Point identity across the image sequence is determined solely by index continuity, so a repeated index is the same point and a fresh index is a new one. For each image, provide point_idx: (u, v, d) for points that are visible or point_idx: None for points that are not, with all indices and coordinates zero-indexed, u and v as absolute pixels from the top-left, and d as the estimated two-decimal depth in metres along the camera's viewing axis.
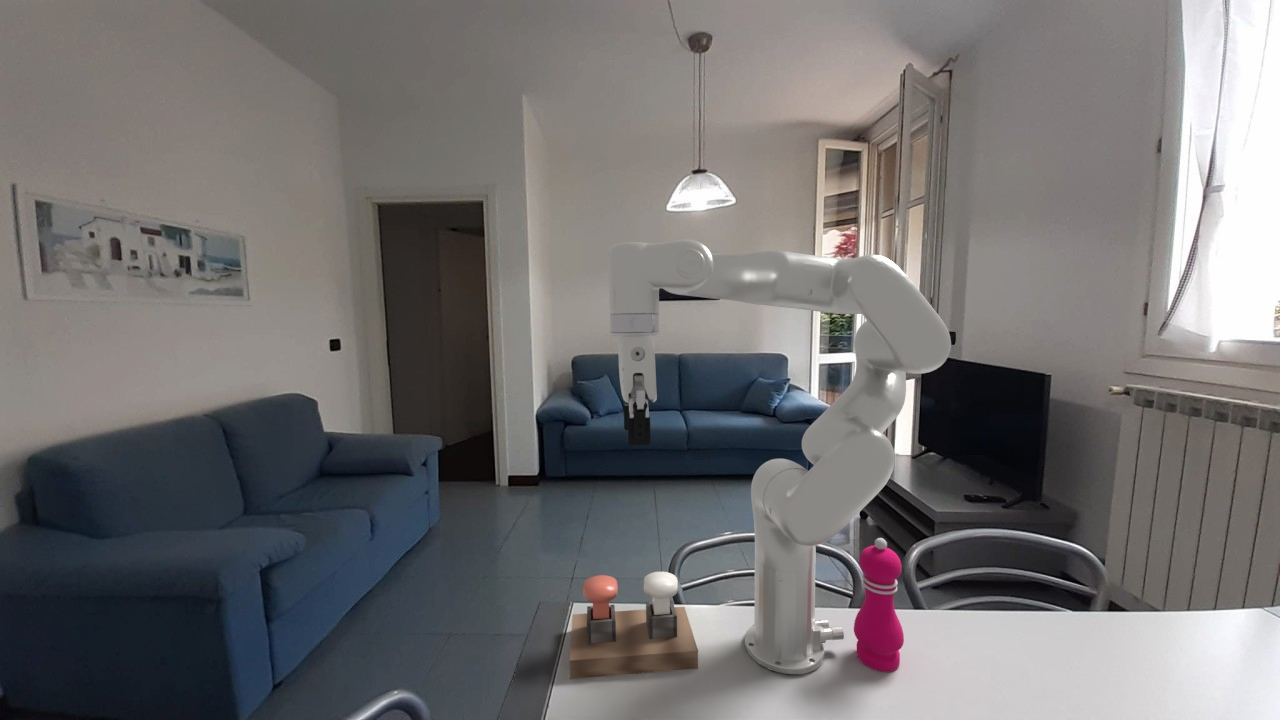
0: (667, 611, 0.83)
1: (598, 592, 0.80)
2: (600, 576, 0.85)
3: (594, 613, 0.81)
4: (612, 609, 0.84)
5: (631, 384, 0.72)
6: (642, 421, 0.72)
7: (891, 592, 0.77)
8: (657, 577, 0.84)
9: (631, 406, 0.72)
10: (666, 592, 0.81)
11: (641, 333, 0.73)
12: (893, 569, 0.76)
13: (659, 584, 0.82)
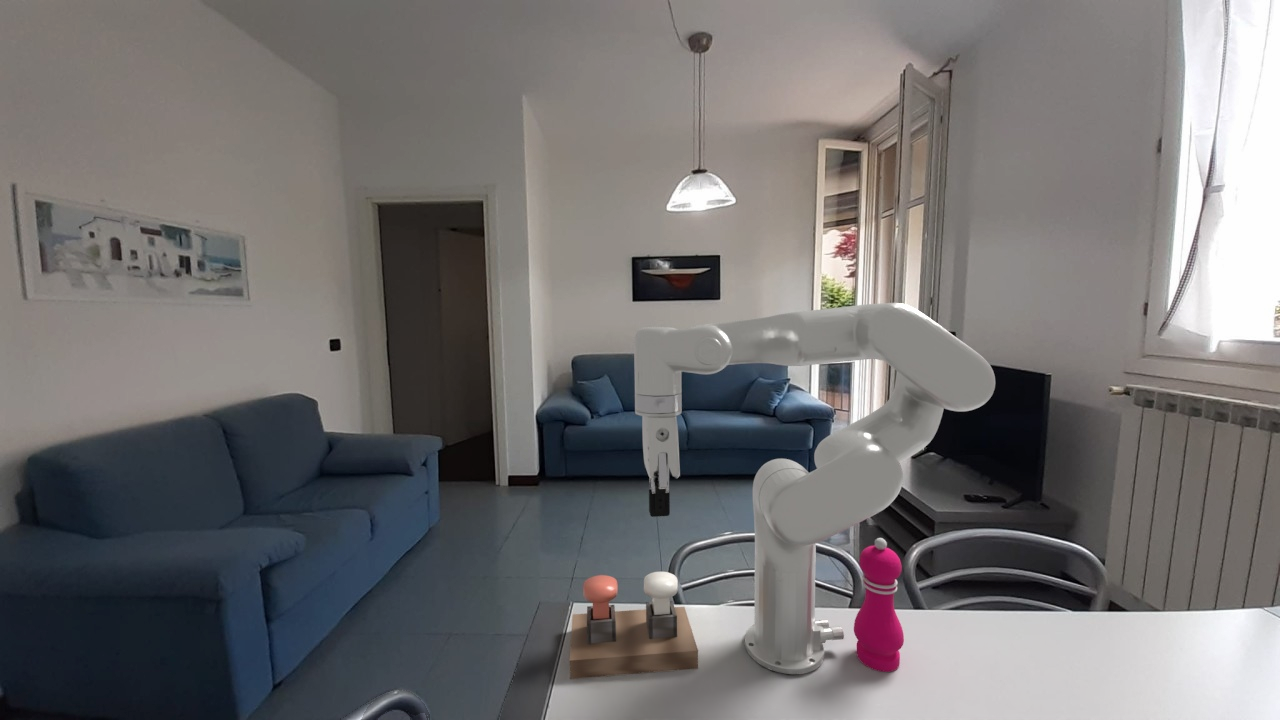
0: (667, 611, 0.83)
1: (598, 592, 0.80)
2: (600, 576, 0.85)
3: (594, 613, 0.81)
4: (612, 609, 0.84)
5: (656, 463, 0.76)
6: (662, 496, 0.81)
7: (891, 592, 0.77)
8: (657, 577, 0.84)
9: (653, 486, 0.80)
10: (666, 592, 0.81)
11: (665, 414, 0.77)
12: (893, 569, 0.76)
13: (659, 584, 0.82)
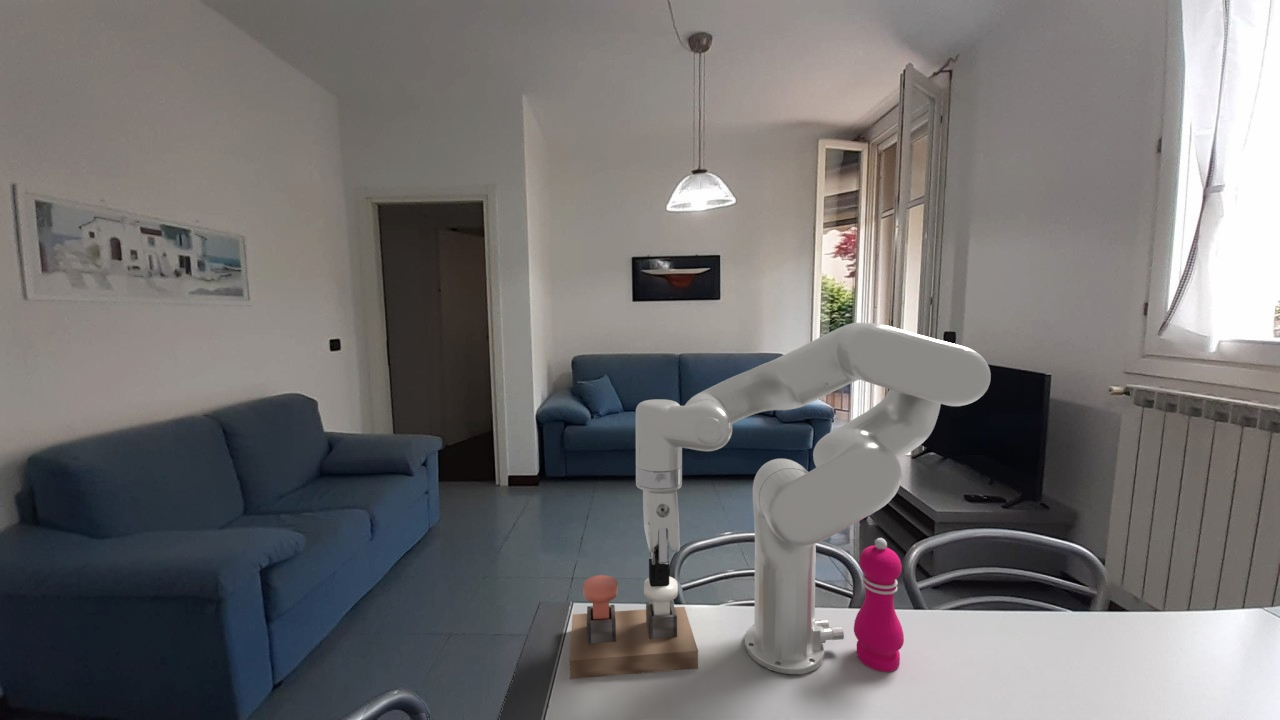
0: None
1: (598, 592, 0.80)
2: (600, 576, 0.85)
3: (594, 613, 0.81)
4: (612, 609, 0.84)
5: (656, 538, 0.77)
6: (662, 567, 0.82)
7: (891, 592, 0.77)
8: None
9: (653, 557, 0.81)
10: (666, 596, 0.81)
11: (666, 489, 0.78)
12: (893, 569, 0.76)
13: (659, 588, 0.82)
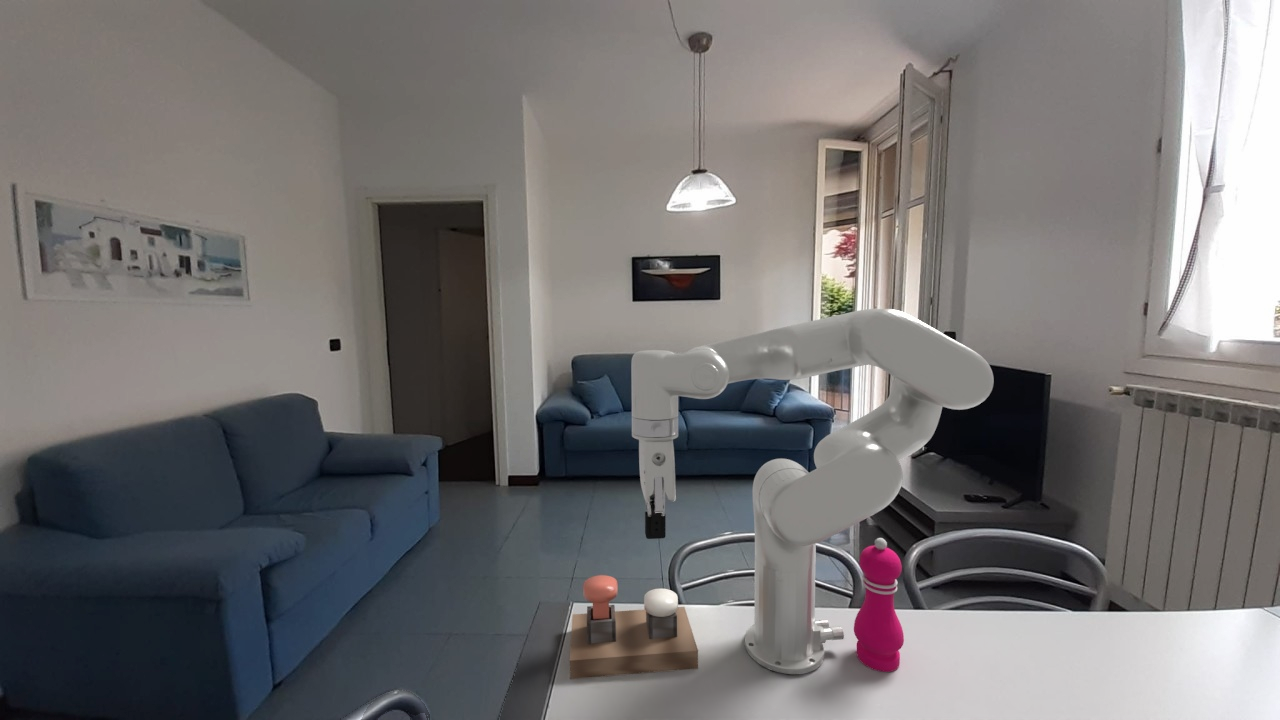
0: None
1: (598, 592, 0.80)
2: (600, 576, 0.85)
3: (594, 613, 0.81)
4: (612, 609, 0.84)
5: (652, 487, 0.77)
6: (658, 518, 0.81)
7: (891, 592, 0.77)
8: (658, 594, 0.85)
9: (649, 508, 0.80)
10: (666, 610, 0.81)
11: (662, 438, 0.78)
12: (893, 569, 0.76)
13: (659, 602, 0.82)
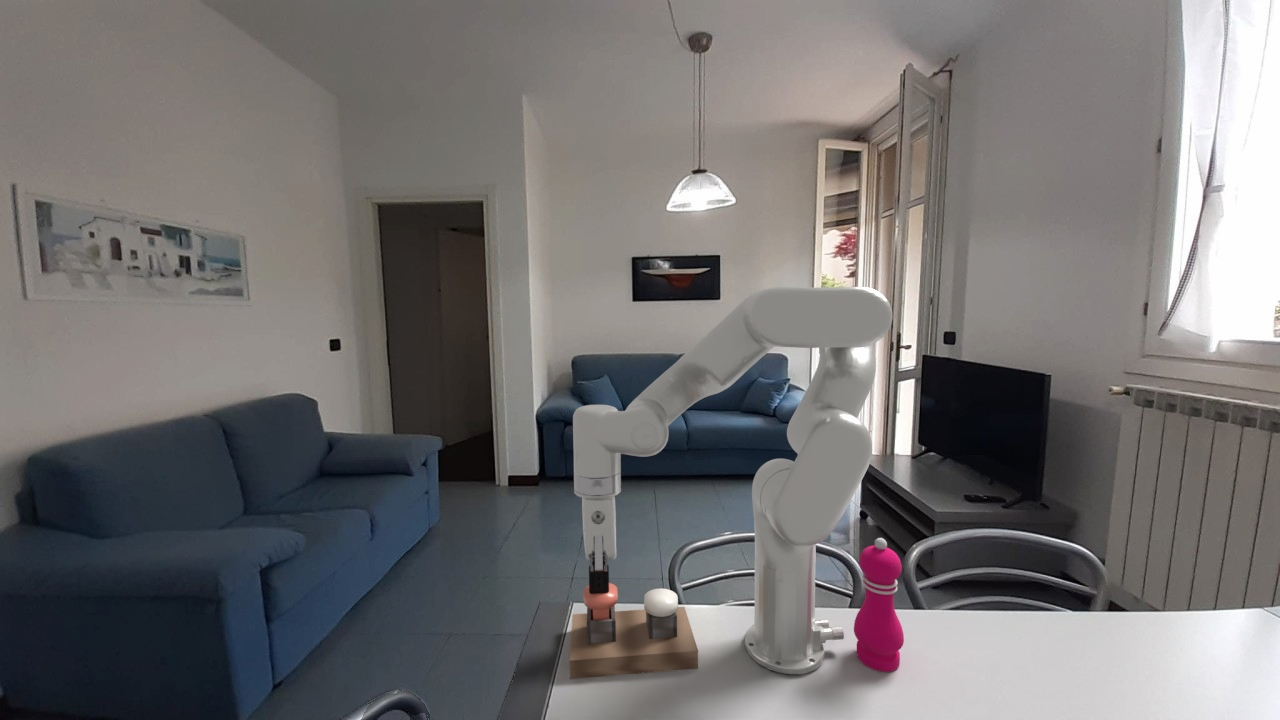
0: None
1: (598, 599, 0.80)
2: None
3: None
4: (612, 609, 0.84)
5: (591, 545, 0.77)
6: (601, 574, 0.81)
7: (891, 592, 0.77)
8: (658, 594, 0.85)
9: (591, 564, 0.80)
10: (666, 610, 0.81)
11: (602, 496, 0.77)
12: (893, 569, 0.76)
13: (659, 602, 0.82)
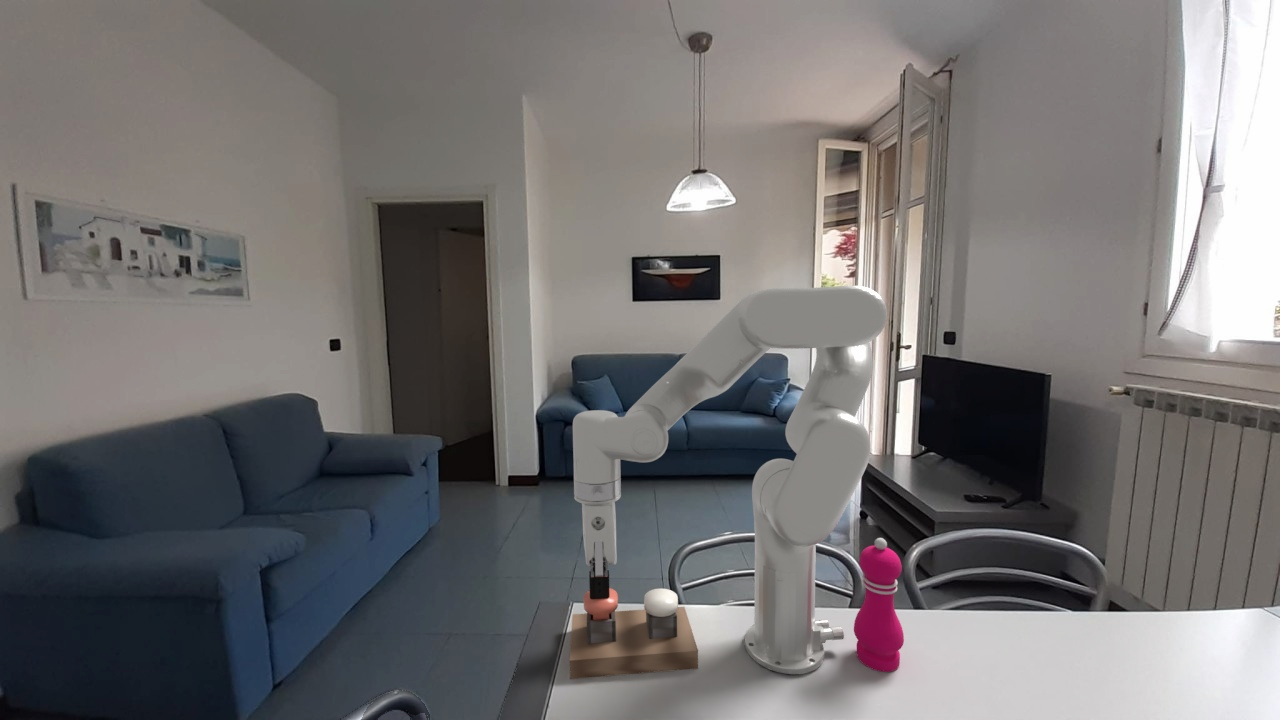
0: None
1: (598, 605, 0.80)
2: None
3: None
4: None
5: (592, 551, 0.77)
6: (601, 579, 0.81)
7: (891, 592, 0.77)
8: (658, 594, 0.85)
9: (592, 570, 0.80)
10: (666, 610, 0.81)
11: (602, 502, 0.78)
12: (893, 569, 0.76)
13: (659, 602, 0.82)
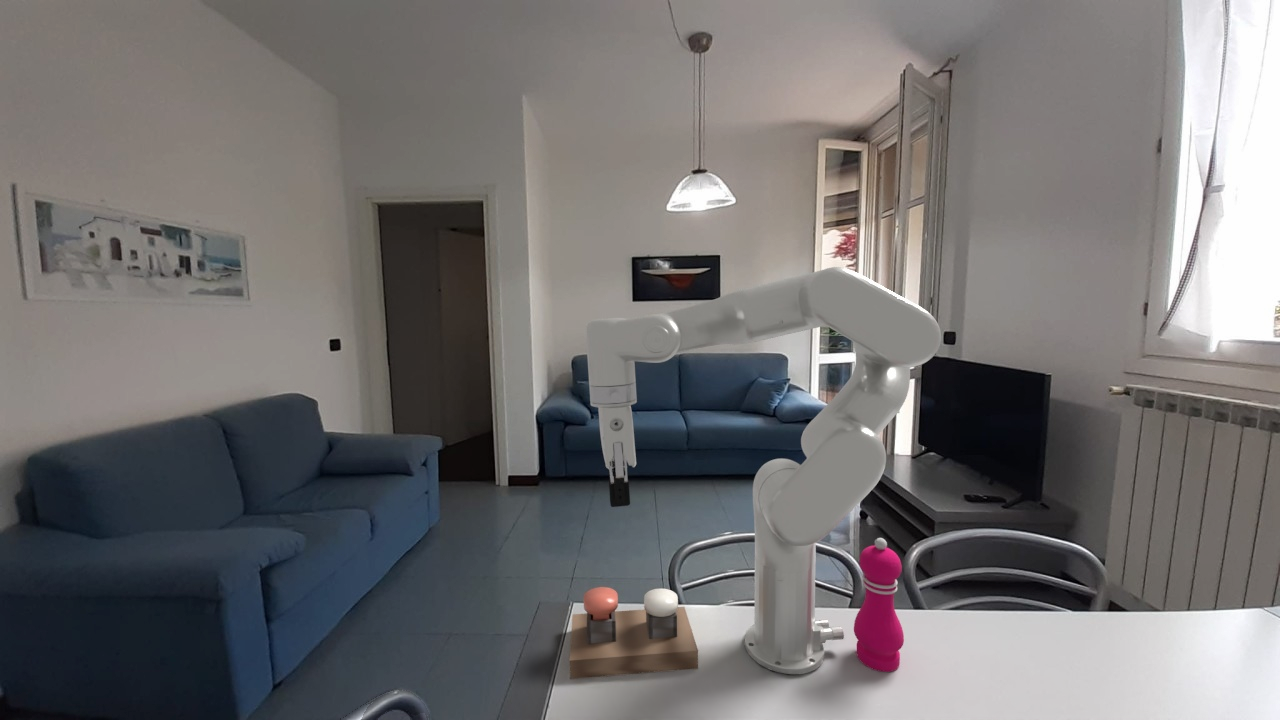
0: None
1: (598, 605, 0.80)
2: (600, 588, 0.85)
3: None
4: None
5: (611, 453, 0.77)
6: (622, 485, 0.81)
7: (891, 592, 0.77)
8: (658, 594, 0.85)
9: (612, 476, 0.80)
10: (666, 610, 0.81)
11: (619, 404, 0.78)
12: (893, 569, 0.76)
13: (659, 602, 0.82)
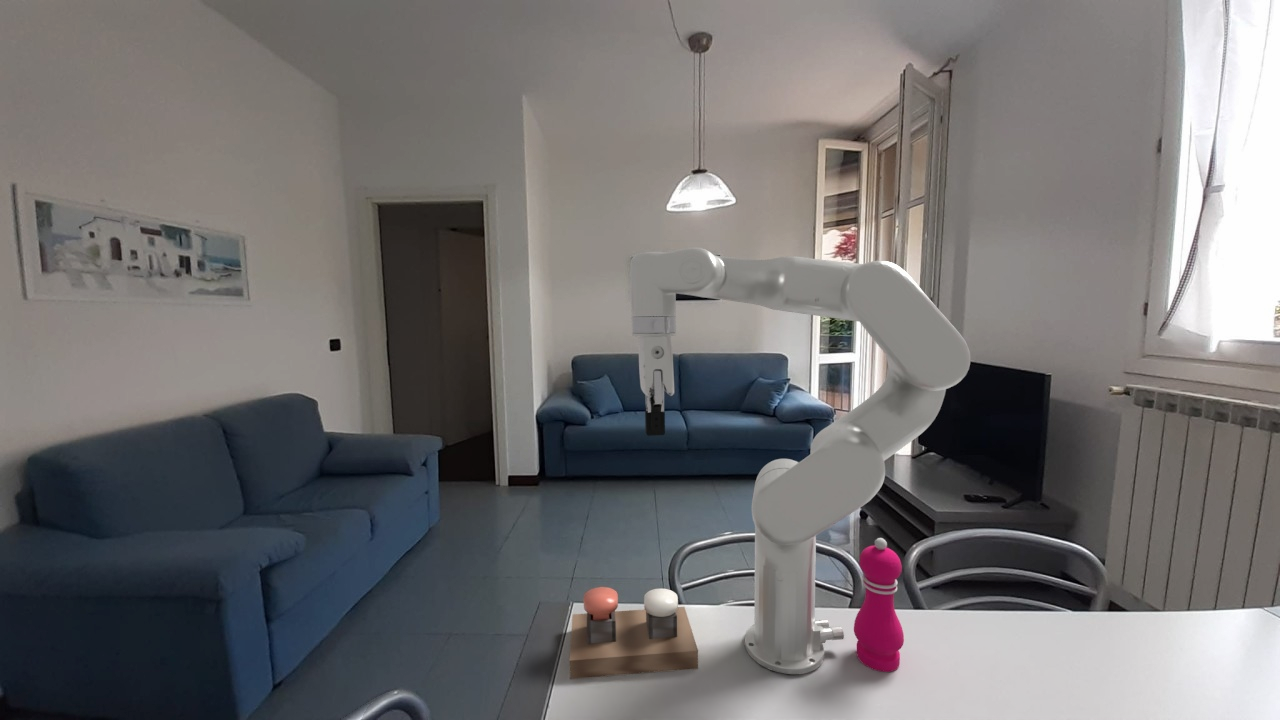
0: None
1: (598, 605, 0.80)
2: (600, 588, 0.85)
3: None
4: None
5: (651, 379, 0.80)
6: (658, 415, 0.85)
7: (891, 592, 0.77)
8: (658, 594, 0.85)
9: (649, 404, 0.84)
10: (666, 610, 0.81)
11: (660, 334, 0.81)
12: (893, 569, 0.76)
13: (659, 602, 0.82)
